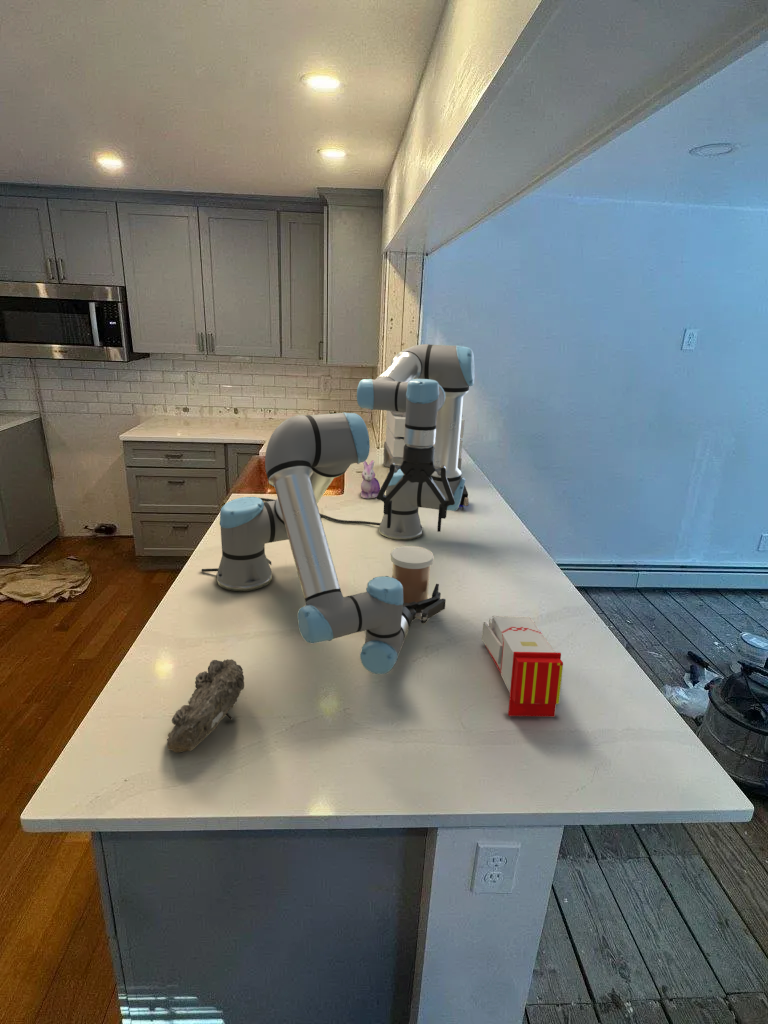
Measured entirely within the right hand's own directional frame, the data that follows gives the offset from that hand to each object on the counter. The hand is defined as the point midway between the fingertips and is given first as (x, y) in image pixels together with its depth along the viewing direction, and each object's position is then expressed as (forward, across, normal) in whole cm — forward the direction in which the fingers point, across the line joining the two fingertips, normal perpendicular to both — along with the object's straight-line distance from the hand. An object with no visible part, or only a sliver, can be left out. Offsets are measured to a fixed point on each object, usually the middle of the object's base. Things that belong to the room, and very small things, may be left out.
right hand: (413, 528), depth 144 cm
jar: (+22, 0, 0) cm, 22 cm away
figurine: (+22, +21, -91) cm, 96 cm away
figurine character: (+22, -16, -86) cm, 90 cm away
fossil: (+22, +35, +50) cm, 65 cm away
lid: (+8, 0, 0) cm, 8 cm away
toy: (+22, -25, +27) cm, 43 cm away
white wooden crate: (+22, +2, -131) cm, 133 cm away
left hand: (+16, 0, 0) cm, 16 cm away
